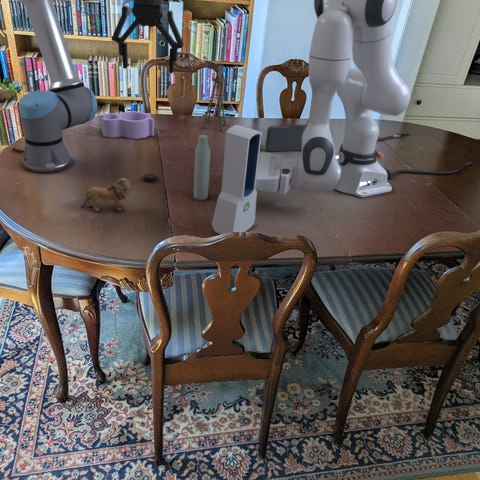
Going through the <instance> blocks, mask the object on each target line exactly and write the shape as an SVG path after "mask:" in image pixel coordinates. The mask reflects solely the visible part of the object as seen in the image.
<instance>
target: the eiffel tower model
mask: <svg viewBox="0 0 480 480" xmlns="http://www.w3.org/2000/svg"><path fill="white" fill-rule="evenodd" d="M220 59H221V60H220V62H218V64H217V65H216V64H215V63H212V62H208V63H207V69H215V68H216V69H217V71H216V75H215V77H213V79H211V81H212V82H214V83H213V85H212V90H211V95H210V97H209V102H208V107H207V110H206V112H205V117H204V119H203V120H204V122H203V126H202V129H205V126H206V122H207V123H210V122H213V123H219V132H221V131H222V123H223V126H226V116H225V109H224V100H223V94H222V84H221V83H223V82H225V79H223V78H222V75H223V69H224V57H223V55H221V56H220ZM216 89H217V91H218V93H215V92H216ZM215 96H216V97H215ZM214 99H217V100H218V104H216V103H213V102H214ZM213 106H216V107H217V106H218V108H216V107H213ZM212 110H217V111H218V113H219V114H218V115H216V114H211V113H212ZM221 111H222V113H221ZM211 117H216V118H219V119H218V120H219V121H218V120H212V119H211Z"/></svg>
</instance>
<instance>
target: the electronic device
mask: <svg viewBox="0 0 480 480" xmlns="http://www.w3.org/2000/svg"><path fill="white" fill-rule="evenodd" d="M262 134H263V132H262V131H259V130H256V129H253V128H249V127H245V126H242V125H239V124H234V125H233V126H230V127H229V128H228V129H227V130H226V132H225V142H224V153H223V166H222V167H223V168H222V180H221V191H220V193H219V195H218V197H217V201H216V204H215V209H214V212H213V217H212V221H211V226H212V229H213V232H214V233H216V234H217V235H220V234H223V233H228V232H244V233H245V232H246V231H248V230H249V229H250V228H252V227H253V225H254V223H255V221H256V210H257V209H256V208H257V195H258V194H257V193H258V190H257V189H255V184H256V176H257V168H258V160H259V155H260V151H261V142H262Z"/></svg>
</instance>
